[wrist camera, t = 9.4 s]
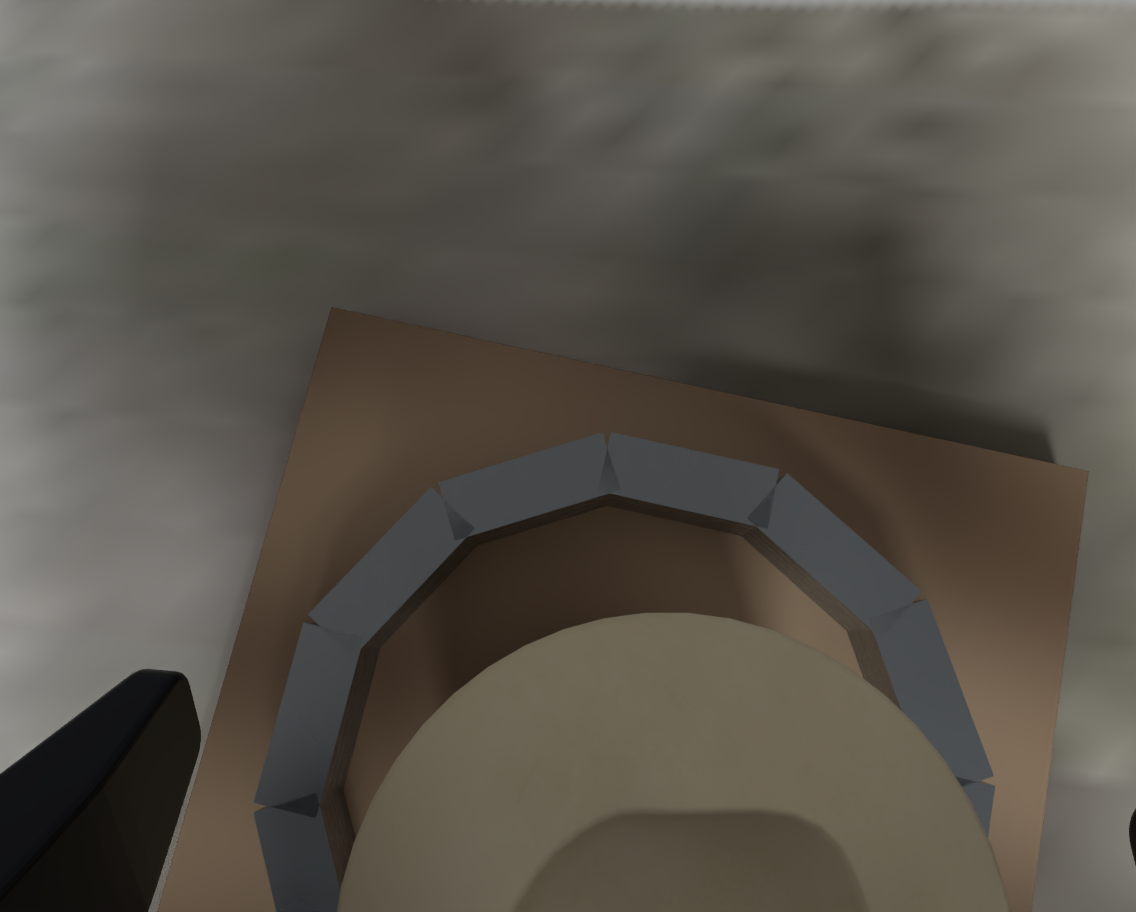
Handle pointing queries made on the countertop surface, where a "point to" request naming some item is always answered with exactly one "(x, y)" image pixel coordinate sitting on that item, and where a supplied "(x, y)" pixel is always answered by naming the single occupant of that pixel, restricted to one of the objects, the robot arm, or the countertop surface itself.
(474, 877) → the candle
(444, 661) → the dock
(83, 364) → the countertop surface
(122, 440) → the countertop surface
